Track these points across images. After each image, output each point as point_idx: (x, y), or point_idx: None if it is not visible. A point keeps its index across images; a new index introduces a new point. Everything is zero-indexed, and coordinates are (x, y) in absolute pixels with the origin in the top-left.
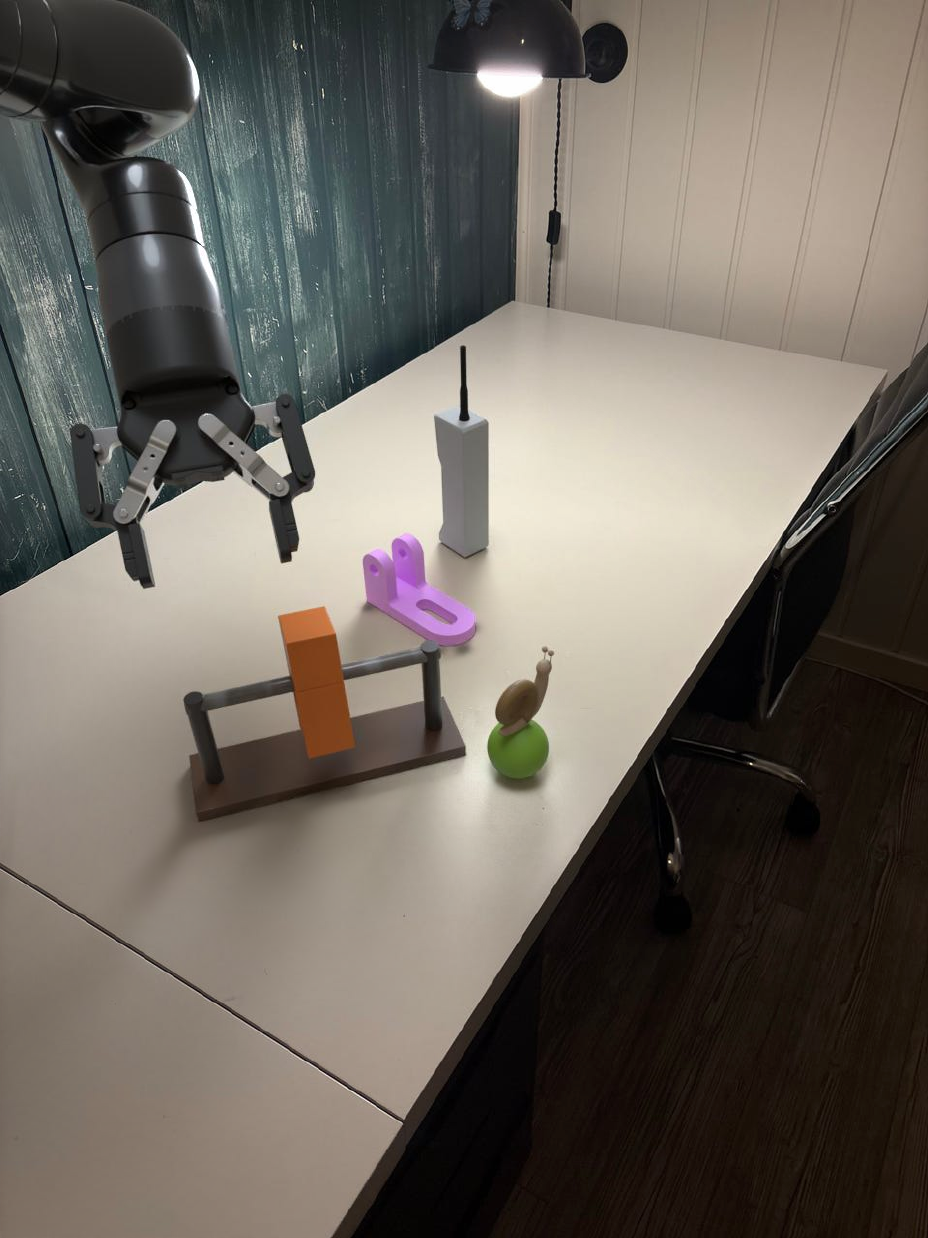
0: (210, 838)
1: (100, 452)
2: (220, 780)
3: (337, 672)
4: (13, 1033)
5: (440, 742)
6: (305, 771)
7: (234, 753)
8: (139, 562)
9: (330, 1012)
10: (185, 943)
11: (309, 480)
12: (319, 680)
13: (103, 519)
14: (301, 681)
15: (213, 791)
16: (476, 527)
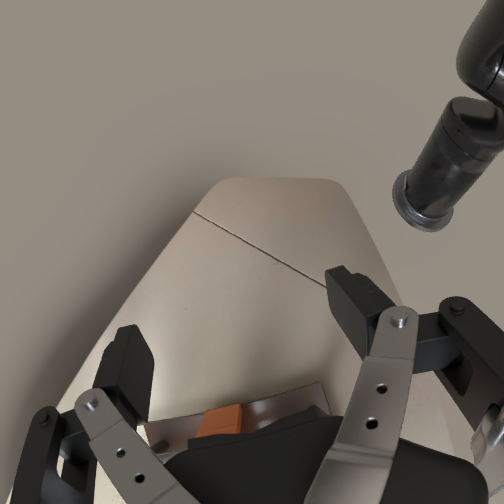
0: (309, 368)
1: (499, 412)
2: (309, 407)
3: (199, 435)
4: (375, 248)
5: (159, 430)
6: (250, 415)
7: None
8: (347, 277)
9: (223, 256)
10: (307, 295)
11: (45, 407)
12: (215, 430)
13: (430, 316)
14: (230, 428)
15: (312, 399)
16: None
